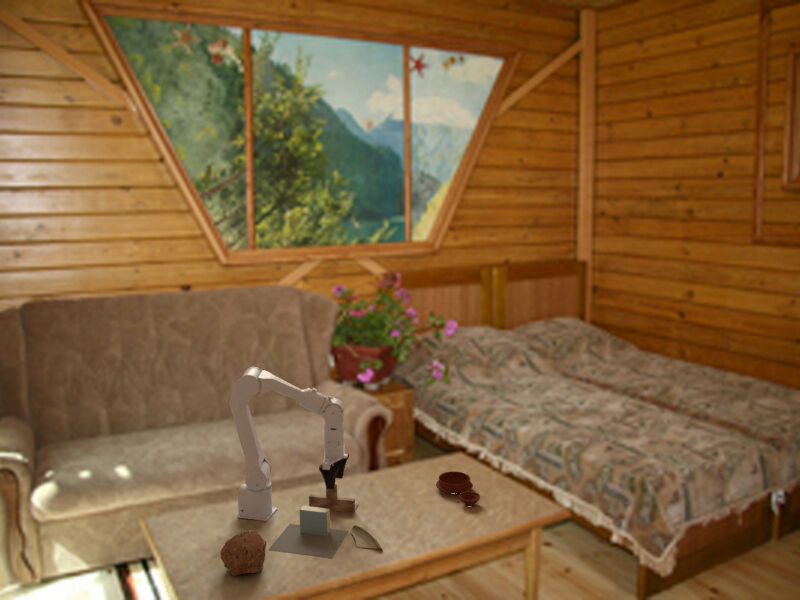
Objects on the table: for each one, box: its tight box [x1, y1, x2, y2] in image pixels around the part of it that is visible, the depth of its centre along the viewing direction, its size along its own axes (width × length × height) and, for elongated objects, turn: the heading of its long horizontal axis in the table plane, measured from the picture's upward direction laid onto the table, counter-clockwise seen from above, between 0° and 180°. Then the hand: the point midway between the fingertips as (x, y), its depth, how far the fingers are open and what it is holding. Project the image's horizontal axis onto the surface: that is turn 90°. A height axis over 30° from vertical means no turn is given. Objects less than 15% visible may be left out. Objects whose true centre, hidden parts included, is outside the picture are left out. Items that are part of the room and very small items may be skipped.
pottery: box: [435, 471, 481, 507], centre depth 225 cm, size 12×20×4 cm, turn 21°
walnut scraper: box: [308, 483, 360, 514], centre depth 217 cm, size 14×6×8 cm, turn 76°
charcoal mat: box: [268, 523, 350, 559], centre depth 197 cm, size 18×15×1 cm
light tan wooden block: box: [299, 505, 331, 536], centre depth 201 cm, size 8×2×7 cm, turn 76°
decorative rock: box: [219, 529, 267, 576], centre depth 182 cm, size 13×11×10 cm
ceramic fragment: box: [349, 524, 384, 552], centre depth 196 cm, size 14×5×4 cm, turn 37°
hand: (334, 483), depth 212 cm, fingers open, 7 cm apart
